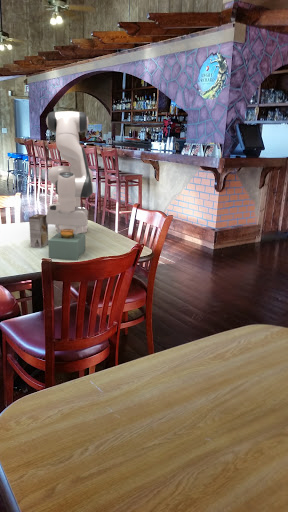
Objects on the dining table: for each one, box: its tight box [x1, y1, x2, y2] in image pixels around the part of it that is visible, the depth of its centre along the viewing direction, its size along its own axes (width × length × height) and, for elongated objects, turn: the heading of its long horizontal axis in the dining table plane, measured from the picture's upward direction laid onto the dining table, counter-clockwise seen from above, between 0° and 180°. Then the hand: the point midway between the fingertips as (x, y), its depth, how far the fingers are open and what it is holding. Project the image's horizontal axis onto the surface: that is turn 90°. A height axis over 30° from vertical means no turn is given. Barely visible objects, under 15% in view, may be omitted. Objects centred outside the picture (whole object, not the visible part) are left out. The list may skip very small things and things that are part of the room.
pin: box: [61, 229, 74, 239], centre depth 208 cm, size 7×7×10 cm
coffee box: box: [28, 213, 49, 249], centre depth 221 cm, size 9×6×16 cm
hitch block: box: [48, 232, 86, 261], centre depth 209 cm, size 16×14×9 cm
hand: (67, 234), depth 207 cm, fingers closed on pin, 6 cm apart
